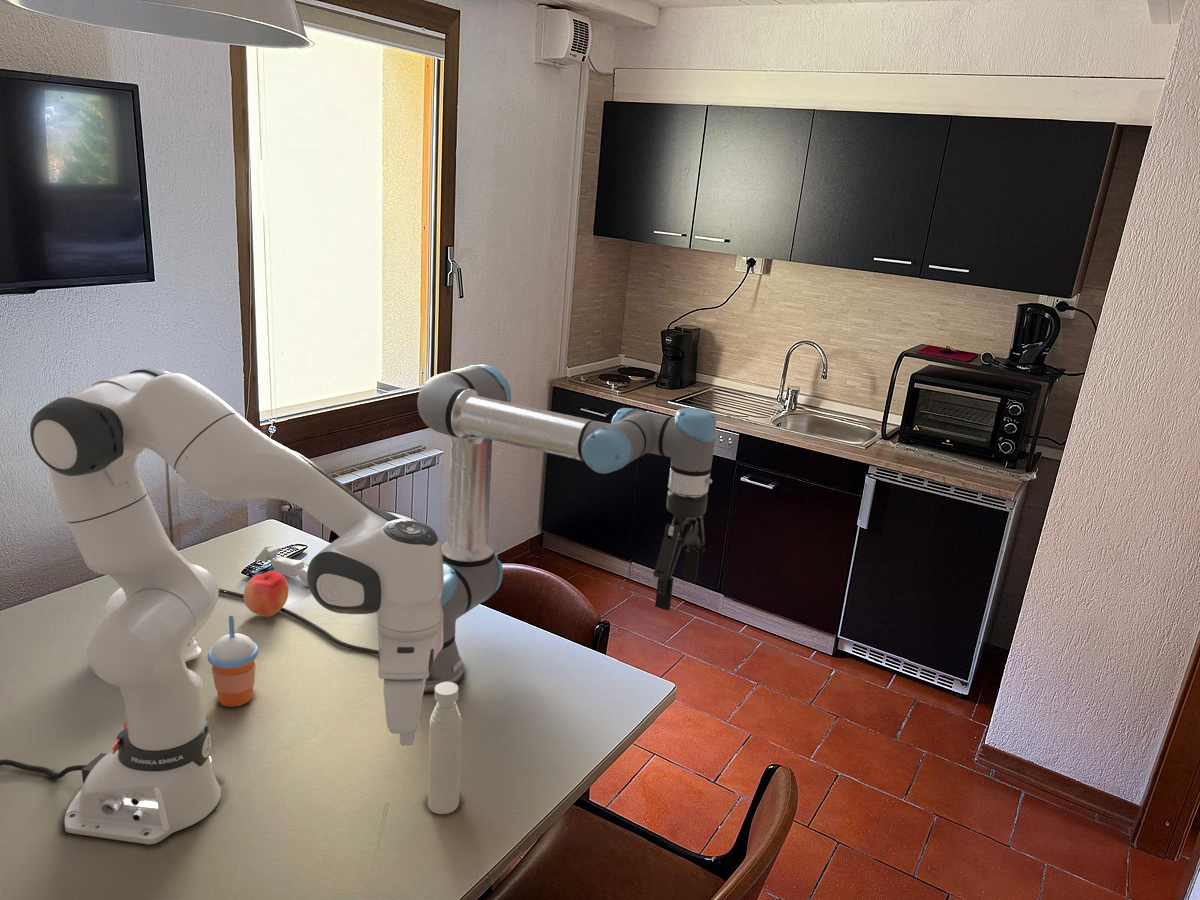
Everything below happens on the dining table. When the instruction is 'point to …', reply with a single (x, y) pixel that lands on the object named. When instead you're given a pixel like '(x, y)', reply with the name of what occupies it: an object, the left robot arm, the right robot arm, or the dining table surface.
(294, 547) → the dining table surface
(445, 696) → the cap
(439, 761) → the bottle
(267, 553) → the clamp
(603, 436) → the right robot arm
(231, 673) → the cup with straw
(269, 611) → the apple
